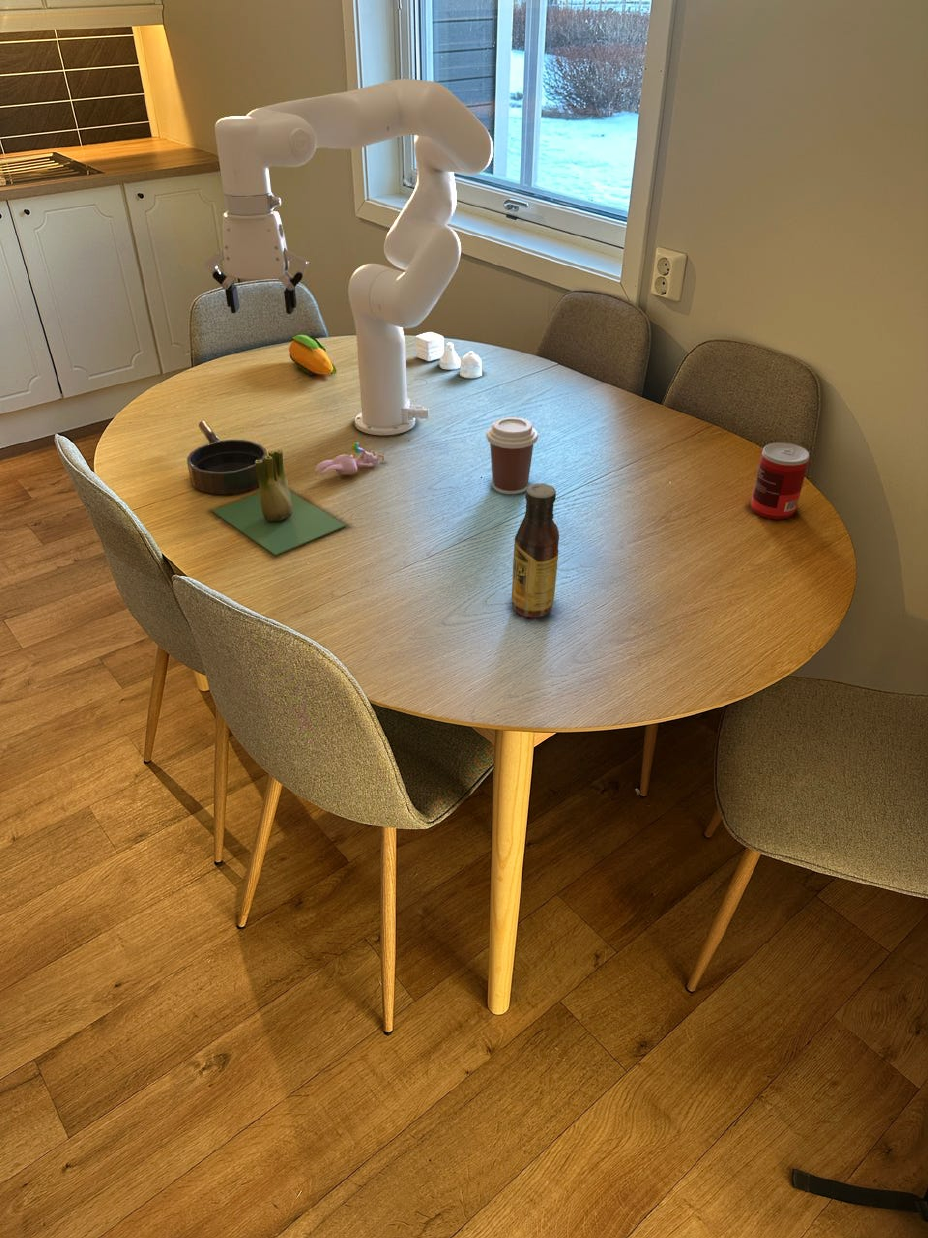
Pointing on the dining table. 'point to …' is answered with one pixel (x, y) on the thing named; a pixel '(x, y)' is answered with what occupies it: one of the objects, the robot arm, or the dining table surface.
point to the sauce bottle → (536, 554)
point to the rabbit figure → (350, 461)
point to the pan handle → (208, 432)
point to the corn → (310, 355)
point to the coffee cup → (511, 453)
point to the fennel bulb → (273, 487)
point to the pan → (225, 466)
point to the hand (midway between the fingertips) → (263, 311)
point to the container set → (447, 355)
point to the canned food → (779, 480)
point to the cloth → (279, 523)
